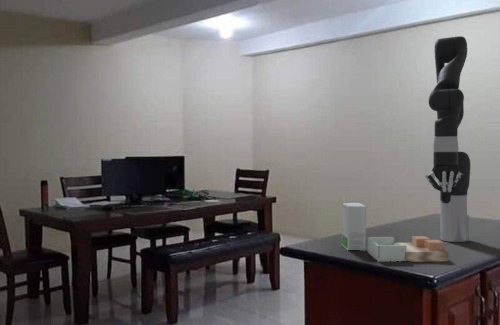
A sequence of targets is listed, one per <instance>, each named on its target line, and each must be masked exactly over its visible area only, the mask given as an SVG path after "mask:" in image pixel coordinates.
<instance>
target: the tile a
mask: <svg viewBox="0 0 500 325" xmlns="http://www.w3.org/2000/svg"><path fill="white" fill-rule="evenodd" d="M424 240H431V238H429V237H428V236H425V235H421V236H419V235H417V236H416V235H415V236H413V235H411V243H412V244H413V245H415V246H416V247H424Z"/></svg>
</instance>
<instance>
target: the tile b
mask: <svg viewBox="0 0 500 325" xmlns="http://www.w3.org/2000/svg"><path fill="white" fill-rule="evenodd" d="M424 248H426V249H428V250H429V251H441V250H445V249H444V248H445V243H444V241H443V240H441V239H430V240H424Z"/></svg>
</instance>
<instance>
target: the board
mask: <svg viewBox="0 0 500 325" xmlns="http://www.w3.org/2000/svg"><path fill="white" fill-rule="evenodd" d="M394 244H396V245H406V246H407V261H410V263H412V262H415V263H417V262H419V263H420V262H421V263H423V262H427V263H428V262H449V250H446V249H444V250H441V251H429V250H428V249H426V248H424V247H416V246H415V245H413V244H412V242H394Z"/></svg>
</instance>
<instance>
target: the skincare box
mask: <svg viewBox="0 0 500 325" xmlns="http://www.w3.org/2000/svg"><path fill="white" fill-rule="evenodd" d="M341 211H342V214H341V215H342V218H341V220H342V222H341V246H342V247H343V248H344V249H345V250H347V251H348V250H360V251H366V238H367V237H366V234H367V230H366V229H367V206H366V205H364V204H362V203H361V202H343V203H342V210H341Z"/></svg>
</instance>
